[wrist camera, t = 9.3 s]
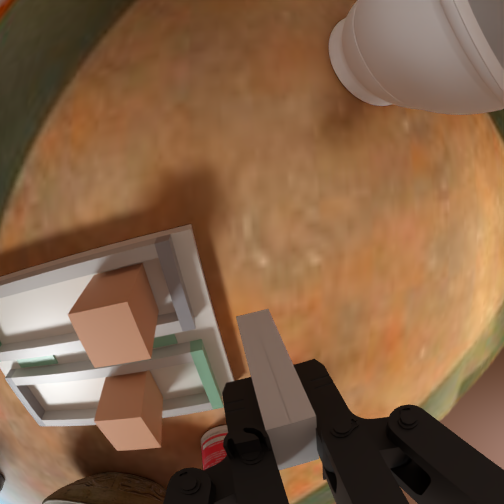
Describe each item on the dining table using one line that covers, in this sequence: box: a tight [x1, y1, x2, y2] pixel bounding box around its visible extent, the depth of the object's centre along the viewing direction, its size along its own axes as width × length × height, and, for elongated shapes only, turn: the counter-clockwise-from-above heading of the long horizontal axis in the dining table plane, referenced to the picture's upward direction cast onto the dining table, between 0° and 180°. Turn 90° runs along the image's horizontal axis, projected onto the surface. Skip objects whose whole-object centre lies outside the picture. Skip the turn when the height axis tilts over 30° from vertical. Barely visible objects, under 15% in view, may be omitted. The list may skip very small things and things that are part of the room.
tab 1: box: [68, 263, 159, 368], centre depth 19 cm, size 4×4×6 cm
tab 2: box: [94, 370, 163, 451], centre depth 22 cm, size 4×4×6 cm
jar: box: [329, 0, 504, 115], centre depth 14 cm, size 11×10×15 cm
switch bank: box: [0, 224, 235, 426], centre depth 23 cm, size 24×16×3 cm, turn 100°
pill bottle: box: [201, 425, 228, 470], centre depth 26 cm, size 6×6×11 cm
